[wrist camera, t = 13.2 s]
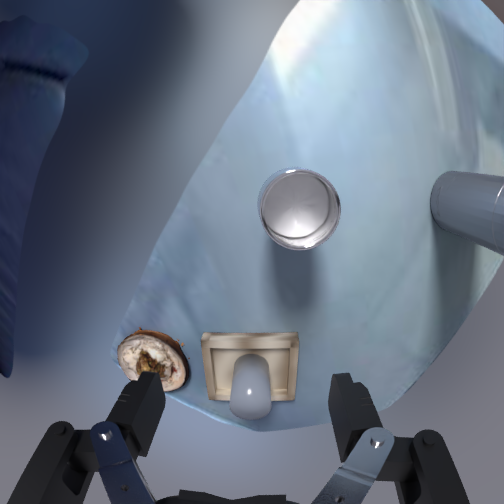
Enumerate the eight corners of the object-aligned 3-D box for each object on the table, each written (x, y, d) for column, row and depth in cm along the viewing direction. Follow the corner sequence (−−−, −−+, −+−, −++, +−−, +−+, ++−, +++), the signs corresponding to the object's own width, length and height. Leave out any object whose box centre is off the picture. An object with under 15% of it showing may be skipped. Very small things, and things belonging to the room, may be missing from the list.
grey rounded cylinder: (269, 353, 43) (272, 391, 35) (268, 381, 45) (270, 420, 36) (233, 353, 43) (228, 391, 35) (234, 380, 45) (230, 419, 36)
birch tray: (297, 332, 43) (299, 340, 41) (293, 390, 46) (294, 400, 44) (203, 332, 43) (200, 340, 41) (210, 390, 47) (208, 399, 44)
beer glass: (308, 224, 39) (335, 258, 24) (255, 217, 39) (251, 247, 24) (315, 172, 37) (349, 174, 22) (261, 164, 37) (262, 160, 22)
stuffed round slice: (203, 393, 48) (200, 409, 44) (127, 386, 48) (119, 400, 44) (191, 322, 44) (185, 336, 40) (106, 318, 44) (95, 331, 40)
